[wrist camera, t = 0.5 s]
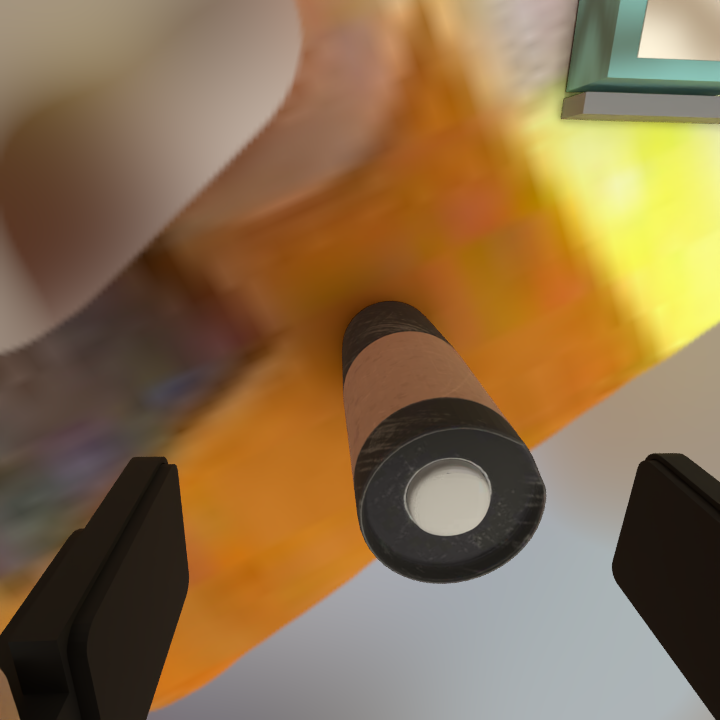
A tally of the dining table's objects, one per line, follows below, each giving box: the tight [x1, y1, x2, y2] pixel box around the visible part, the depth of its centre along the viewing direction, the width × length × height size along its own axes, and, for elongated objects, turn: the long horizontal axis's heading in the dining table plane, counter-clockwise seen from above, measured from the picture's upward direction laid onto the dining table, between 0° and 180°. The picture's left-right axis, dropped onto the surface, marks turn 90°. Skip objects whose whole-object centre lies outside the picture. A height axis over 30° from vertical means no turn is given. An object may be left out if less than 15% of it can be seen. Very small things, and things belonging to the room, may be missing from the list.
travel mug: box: [342, 301, 546, 584], centre depth 29 cm, size 8×8×20 cm
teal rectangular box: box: [566, 0, 720, 96], centre depth 29 cm, size 6×10×5 cm, turn 89°
